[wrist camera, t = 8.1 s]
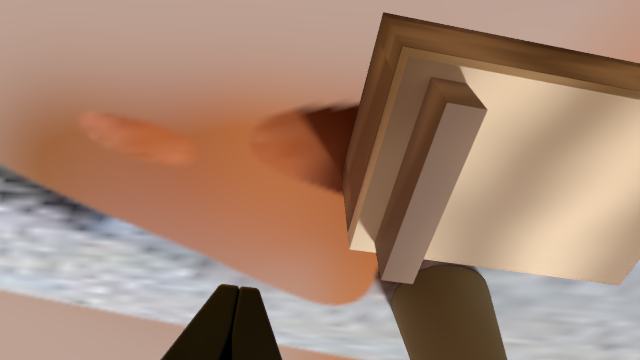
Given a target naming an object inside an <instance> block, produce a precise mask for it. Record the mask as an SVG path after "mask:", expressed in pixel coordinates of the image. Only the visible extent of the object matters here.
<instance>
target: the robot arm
mask: <svg viewBox="0 0 640 360" xmlns="http://www.w3.org/2000/svg"><path fill="white" fill-rule="evenodd" d="M161 360H282V358H281V355H280V352H279V349H278V346H277V343H276V340H275V337H274V334H273V331H272V328H271V325H270V322H269V319H268V316H267V312H266V309H265V306H264V303H263V300H262V297H261V294H260V292H259V290H258V289H257V288H251V287H240V289H239V288H238V286H235V285H227V284H221V285H220V286H218V288H217V289H216V290H215V291H214V293H213V294H212V295H211V296H210V298H209V299H208V300H207V302H206V303H205V304H204V305H203V307H202V308H201V309H200V310H199V312H198V313H197V314H196V315H195V317H194V318H193V319H192V321H191V322H190V323H189V324H188V326H187V327H186V328H185V330H184V331H183V332H182V333H181V335H180V336H179V337H178V338H177V340H176V341H175V342H174V343H173V345H172V346H171V347H170V348H169V350H168V351H167V352H166V354H165V355H164V356H163V357H162V359H161Z"/></svg>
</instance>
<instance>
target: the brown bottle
mask: <svg viewBox="0 0 640 360" xmlns="http://www.w3.org/2000/svg"><path fill="white" fill-rule="evenodd" d="M392 311H393V314H394V317H395V319H396V322H397V325H398V327H399V330H400V333H401V336H402V338H403V341H404V344H405V346H406V349H407V352H408V355H409V357H410V360H507V357H506V353H505V349H504V345H503V342H502V338H501V334H500V330H499V326H498V323H497V319H496V315H495V311H494V307H493V303H492V300H491V296H490V292H489V289H488V286H487V284H486V281H485V279H483V278H482V277H481V276H480V275H479V274H478V273H477V272H475V271H473V270H470V269H468V268H466V267H462V266H454V265H443V266H434V267H430V268H427V269H424V270H421V271H419V272H418V273H417V276H416V278H415V280H414V283H413V284H408V283H401V285H400V286H399V287H398V288H397V289H396V290H395V293H394V296H393V298H392Z"/></svg>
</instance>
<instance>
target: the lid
mask: <svg viewBox="0 0 640 360" xmlns="http://www.w3.org/2000/svg"><path fill="white" fill-rule="evenodd" d="M348 240H349V249H350V250H358V251H365V252H373V253H376V255H377V260H378V266H379V272H380V277H381V280H385V281H393V282H400V283H408V284H413V283H414V280H415V278H416V276H417V273H418V271H419V269H420V266H421V264H422V262H423V259H425V260H433V261H440V262H448V263H455V264H463V265H470V266H478V267H485V268H493V269H500V270H508V271H515V272H523V273H530V274H538V275H545V276H553V277H560V278H568V279H575V280H583V281H590V282H598V283H605V284H613V285H620V284H621V283H622V281H623V280H624V279H625V278H626V276H627V275H628V274H629V273H630V271H631V270H632V269H633V267H634V266H635V265H636V264H637V262H638V261H639V260H640V92H639V91H634V90H629V89H623V88H618V87H613V86H608V85H602V84H597V83H592V82H587V81H581V80H576V79H571V78H566V77H561V76H555V75H550V74H545V73H540V72H534V71H529V70H524V69H519V68H513V67H508V66H503V65H498V64H493V63H487V62H482V61H477V60H472V59H466V58H461V57H456V56H451V55H445V54H440V53H435V52H430V51H425V50H419V49H414V48H409V47H404V46H403V47H402V50H401V53H400V57H399V60H398V64H397V67H396V71H395V74H394V77H393V81H392V84H391V88H390V91H389V94H388V98H387V101H386V105H385V108H384V111H383V115H382V118H381V122H380V125H379V129H378V132H377V135H376V139H375V142H374V146H373V149H372V152H371V156H370V159H369V163H368V166H367V169H366V173H365V176H364V180H363V183H362V187H361V190H360V193H359V197H358V200H357V204H356V207H355V210H354V214H353V217H352V221H351V224H350V227H349V231H348Z"/></svg>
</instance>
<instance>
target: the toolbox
mask: <svg viewBox="0 0 640 360" xmlns="http://www.w3.org/2000/svg"><path fill="white" fill-rule="evenodd" d="M403 46H404V47H409V48H414V49H419V50H425V51H430V52H435V53H440V54H445V55H451V56H456V57H461V58H466V59H472V60H477V61H482V62H487V63H493V64H498V65H503V66H508V67H513V68H519V69H524V70H529V71H534V72H540V73H545V74H550V75H555V76H561V77H566V78H571V79H576V80H581V81H587V82H592V83H597V84H602V85H608V86H613V87H618V88H623V89H629V90H634V91H639V92H640V64H639V63H634V62H629V61H624V60H619V59H614V58H609V57H604V56H599V55H594V54H589V53H584V52H579V51H574V50H569V49H564V48H558V47H554V46H549V45H544V44H539V43H534V42H529V41H524V40H519V39H514V38H509V37H504V36H499V35H494V34H488V33H484V32H479V31H474V30H469V29H464V28H458V27H454V26H449V25H444V24H439V23H433V22H428V21H424V20H418V19H414V18H408V17H404V16H398V15H394V14H389V13H383V16H382V20H381V23H380V27H379V31H378V35H377V39H376V43H375V47H374V51H373V55H372V58H371V62H370V66H369V70H368V74H367V78H366V81H365V85H364V89H363V93H362V97H361V101H360V105H359V108H358V112H357V116H356V120H355V124H354V128H353V132H352V135H351V139H350V143H349V147H348V151H347V155H346V159H345V162H344V166H343V170H342V174H341V175H342V184H343V193H344V203H345V212H346V221H347V230H348V231H349V227H350V224H351V221H352V217H353V214H354V210H355V207H356V204H357V200H358V197H359V193H360V190H361V187H362V183H363V180H364V176H365V173H366V169H367V166H368V163H369V159H370V156H371V152H372V149H373V146H374V142H375V139H376V135H377V132H378V129H379V125H380V122H381V118H382V115H383V111H384V108H385V105H386V101H387V98H388V94H389V91H390V88H391V84H392V81H393V77H394V74H395V71H396V67H397V64H398V60H399V57H400V53H401V50H402V47H403Z"/></svg>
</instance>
